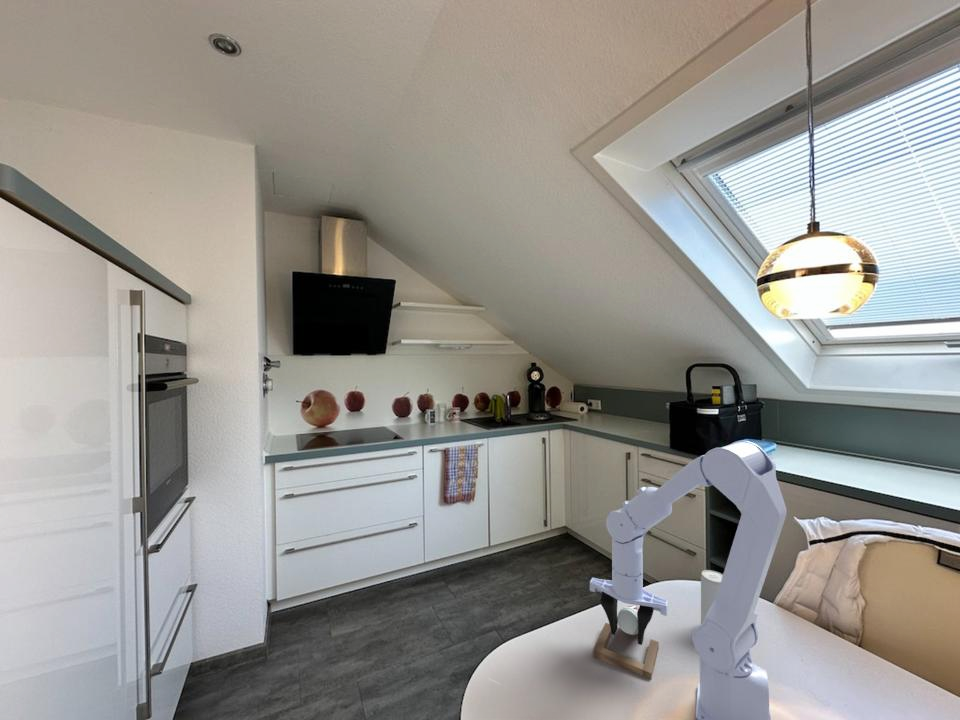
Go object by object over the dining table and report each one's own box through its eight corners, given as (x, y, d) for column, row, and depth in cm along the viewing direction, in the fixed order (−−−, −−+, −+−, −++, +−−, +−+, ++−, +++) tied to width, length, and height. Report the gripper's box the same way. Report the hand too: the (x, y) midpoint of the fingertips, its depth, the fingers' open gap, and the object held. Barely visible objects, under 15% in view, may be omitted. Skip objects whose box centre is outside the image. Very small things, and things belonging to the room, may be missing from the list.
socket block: (658, 649, 77) (658, 641, 77) (651, 681, 69) (651, 673, 69) (605, 629, 82) (605, 622, 82) (593, 657, 75) (593, 649, 75)
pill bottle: (622, 627, 83) (614, 631, 77) (624, 602, 85) (615, 604, 79) (646, 635, 81) (639, 639, 74) (647, 609, 82) (640, 611, 76)
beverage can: (731, 641, 79) (731, 583, 79) (705, 638, 80) (705, 581, 80) (721, 625, 84) (721, 570, 83) (697, 622, 85) (697, 568, 84)
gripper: (669, 570, 76) (669, 638, 76) (596, 550, 84) (596, 612, 84) (665, 588, 70) (665, 662, 70) (586, 565, 78) (586, 631, 78)
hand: (627, 636), depth 76 cm, fingers open, 4 cm apart
